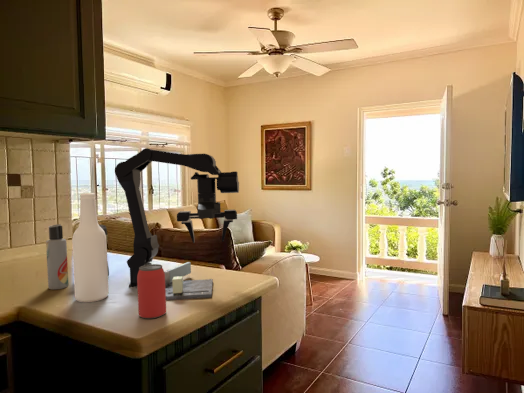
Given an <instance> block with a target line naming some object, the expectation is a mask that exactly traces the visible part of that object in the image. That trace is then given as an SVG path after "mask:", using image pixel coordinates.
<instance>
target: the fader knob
mask: <svg viewBox="0 0 524 393" xmlns="http://www.w3.org/2000/svg"><path fill="white" fill-rule="evenodd" d="M183 281H184V279H183V276H178V277H173V279H172V282H173V294H174V293H182V292H183Z"/></svg>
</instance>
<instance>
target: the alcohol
mask: <svg viewBox="0 0 524 393" xmlns="http://www.w3.org/2000/svg"><path fill="white" fill-rule="evenodd" d="M95 196H96V193H95V192H88V193H83V192H82V193H80V194H79V197H80V198H79V200H80V202H79V203H80V205H79V207H80V208H79V224H78V227H77V228H76V229H75V230H74V233H73V234H72V239H71V243H72V259H73V260H72V262H73V282H74V284H73V286H74V299H75V300H76V301H77V302H79V303H93V302H94V303H95V302H98V301H99V302H100V301H102V300H104V299H106V298H107V297H108V296H109V276H108V268H109V264H108V265H107V261H108V248H107V247H108V246H107V240H106V234H105V231H104V230H103V229H102V228H101V227H100V226H99V225H100V224H99V222H98V221H99V220H98V215H97V213H98V212H97V207H96V206H97V205H96V197H95Z"/></svg>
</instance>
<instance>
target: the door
mask: <svg viewBox="0 0 524 393" xmlns="http://www.w3.org/2000/svg"><path fill="white" fill-rule="evenodd" d="M164 273H165V284H170V282H172V279H173V277H178V276H183V277H186V276H188V275H190V274H192V265H191V262H190V261H187V262H185V263H183V264H180V265H179V264H178V265H177V266H174V267H171V268H169V269H167V270H166V271H165V270H164Z"/></svg>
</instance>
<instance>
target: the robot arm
mask: <svg viewBox="0 0 524 393" xmlns="http://www.w3.org/2000/svg"><path fill="white" fill-rule="evenodd" d="M152 162H157V163H162V164H163V163H164V164H169V165H176V166H177V165H178V166H184V167H187V168H189V169H192V170H196V172H194V173H193V175H192V176H190V180H193V181H194V180H196V181H197V182H196V183H197V185H196V187H197V206H196V207H197V208H196V209H197V211H196V212H194V213H193V212H192V211H191V210H181V211H178V212H177V213H176V222H180V223H181V225H184V226H185V227H186V229H187V231H188V233H189V236H190V239H191V241H192V243H193V244H195V233H194V232H195V231H194V225H193V219H194V220H195V219H196V220H197V219H199V220H204V219H210V220H211V219H212V220H213V219H220V218H221V219H222V218H223V222H222V223H223V224H222V231H221V242H224V241H225V238H226V234H227V233H226V232H227V230H228V227H229V226H230V224H231V223H233V222H234V220H238V213H237V212H238V211H237V210H236V209H224V210H223V211H222V210H221V208H222V207H221V201H217V192H216V191H220V194H238V193H240V181H239V174H238V171H229V172H222V171H221V169H220V168H219V167H218V166H217V161H216V159H215V158H214V156H213V155H211V154H208V153H191V154H189V153H188V154H184V153H183V154H182V153H178V152H169V151H164V150H156V149H151V148H148V147H146V148H143V149H141V151H140V152H138V153H136V154H134V155H133V156H131V157H129V158H128V159H126V160H125V161H120V162H119V163H117V165H116V166H115V167H114V175H115V177H116V179H117V182H118V183H119V185H120V186H121V188H122V189H123V191H124V193H125V194H124V195H125V199H126V203H127V206H128V210H129V215H130V220H131V223H132V224H131V225H132V228H133V232H134V238H133V244H132V246H133V254H132V255H131V256H130V257H129V259H127V260H126V263H127V266H128V268H129V279H130V280H129V283H128V286H129V287H137V275H138V272H139V267H141V266H144V265H150V264H152V261H153V259H154V257H156V256H157V255H158V252H159V247H160V244H159V242H158V235H157V234H154V235H153V234H152V232H150V229H149V225H148V221H147V216H146V212H145V207H144V203H143V198H142V195H141V190H140V189H141V188H140V186H141V180H142V179H141V177H142V176H141V172H143V171H144V170H145V169H146V168H147V167H148V166H149V165H150V164H151V163H152ZM197 171H198V172H197ZM199 172H202V174H201V173H200V174H199ZM209 174H210V175H211V176H214V177H210V175H209ZM215 176H217V177H215ZM216 189H217V190H216Z"/></svg>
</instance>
